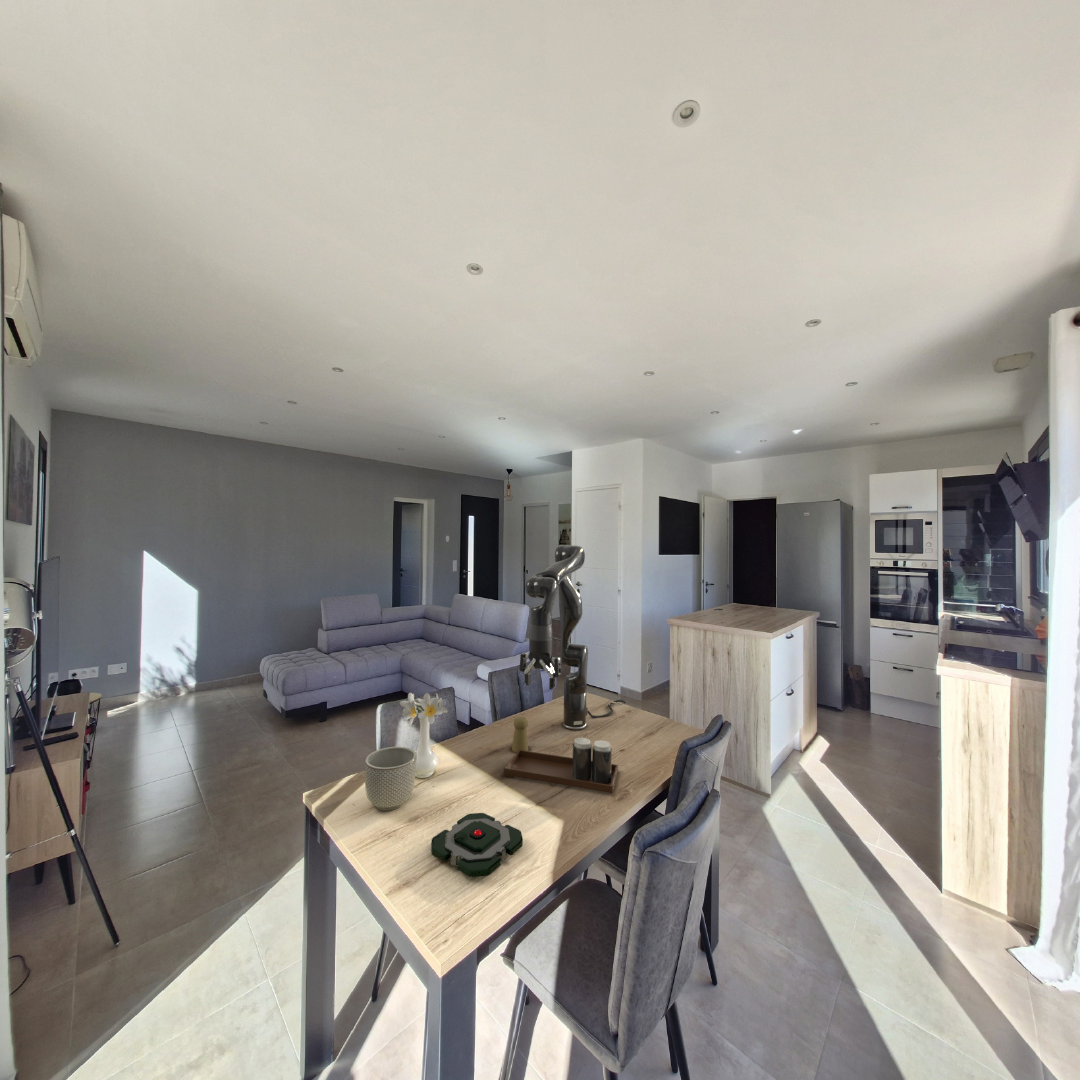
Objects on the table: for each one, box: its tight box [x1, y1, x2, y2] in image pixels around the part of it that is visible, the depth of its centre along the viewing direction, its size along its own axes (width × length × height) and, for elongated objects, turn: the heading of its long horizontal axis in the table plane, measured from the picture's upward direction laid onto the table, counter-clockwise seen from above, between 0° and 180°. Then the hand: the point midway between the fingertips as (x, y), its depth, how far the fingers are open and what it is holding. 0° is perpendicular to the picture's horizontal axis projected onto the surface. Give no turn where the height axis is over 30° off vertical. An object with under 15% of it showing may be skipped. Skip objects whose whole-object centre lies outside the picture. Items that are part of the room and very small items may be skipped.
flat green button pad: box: [430, 812, 524, 878], centre depth 107 cm, size 18×18×5 cm
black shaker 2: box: [592, 739, 613, 784], centre depth 141 cm, size 6×6×11 cm
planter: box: [363, 746, 417, 812], centre depth 126 cm, size 14×14×13 cm
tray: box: [503, 750, 619, 794], centre depth 145 cm, size 14×34×2 cm, turn 74°
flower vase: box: [399, 692, 449, 779], centre depth 144 cm, size 13×18×25 cm
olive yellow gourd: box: [511, 716, 529, 753], centre depth 163 cm, size 6×6×11 cm
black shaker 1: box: [572, 737, 593, 781], centre depth 143 cm, size 6×6×11 cm
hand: (539, 686), depth 149 cm, fingers open, 8 cm apart
